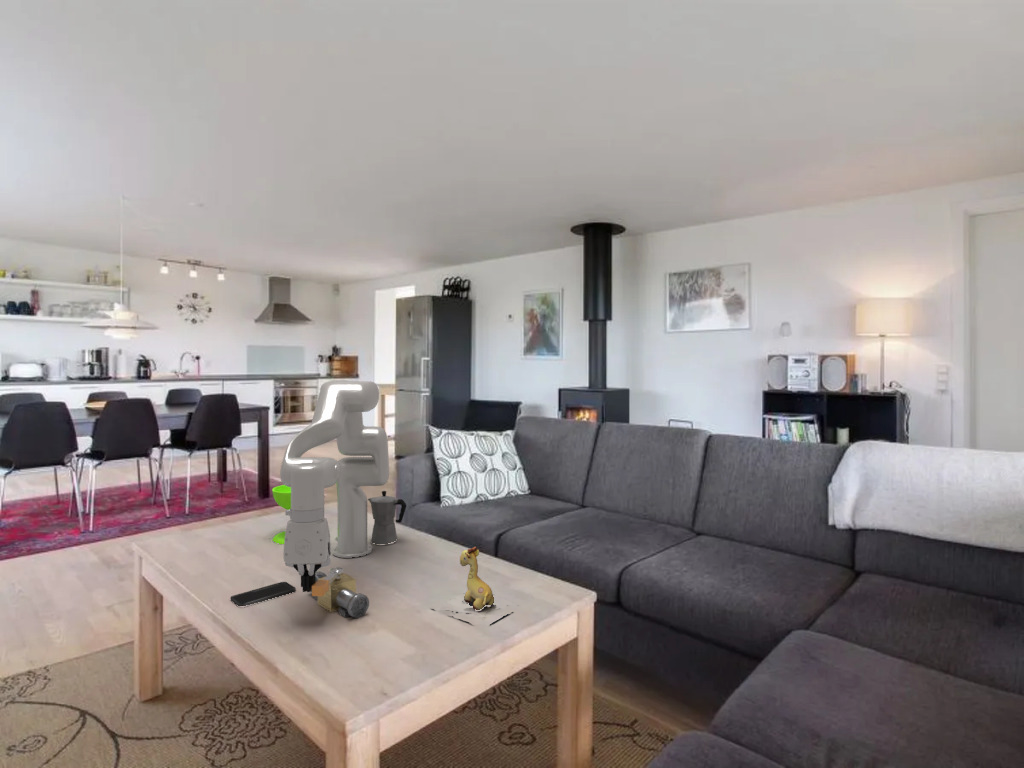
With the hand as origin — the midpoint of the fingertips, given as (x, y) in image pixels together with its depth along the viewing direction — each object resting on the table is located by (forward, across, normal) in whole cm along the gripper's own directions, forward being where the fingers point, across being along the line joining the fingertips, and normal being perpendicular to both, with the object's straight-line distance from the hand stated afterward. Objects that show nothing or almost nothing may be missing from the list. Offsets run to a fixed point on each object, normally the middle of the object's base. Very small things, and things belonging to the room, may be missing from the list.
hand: (308, 589), depth 136 cm
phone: (+8, -18, +15) cm, 25 cm away
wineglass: (+8, -29, +65) cm, 72 cm away
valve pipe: (+8, +4, +10) cm, 13 cm away
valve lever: (+1, +3, +5) cm, 6 cm away
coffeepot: (+8, +5, +61) cm, 62 cm away
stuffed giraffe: (+8, +40, +9) cm, 42 cm away
